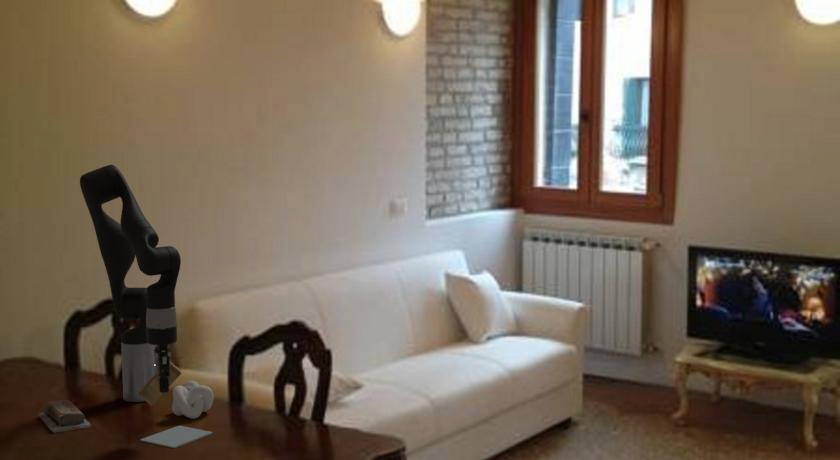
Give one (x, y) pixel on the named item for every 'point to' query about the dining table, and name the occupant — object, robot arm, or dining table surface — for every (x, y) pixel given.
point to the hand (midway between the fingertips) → (163, 389)
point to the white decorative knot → (191, 399)
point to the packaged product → (63, 417)
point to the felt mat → (176, 436)
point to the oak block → (157, 385)
